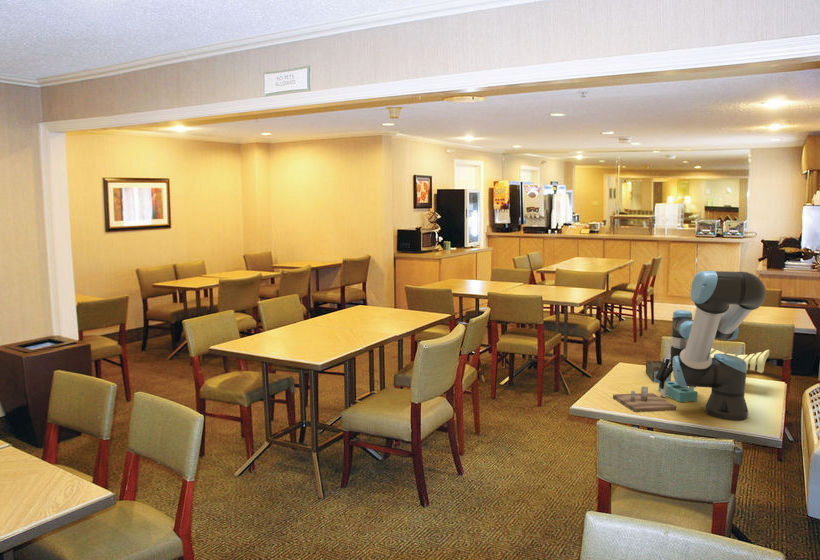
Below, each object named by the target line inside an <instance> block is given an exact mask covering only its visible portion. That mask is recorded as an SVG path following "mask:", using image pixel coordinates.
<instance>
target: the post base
mask: <svg viewBox="0 0 820 560" xmlns="http://www.w3.org/2000/svg"><path fill="white" fill-rule="evenodd" d="M648 391H649V387H647V386H641V390H640V393H636V391H635V390H631V392H630V393H619V394H618V393H617V394H612V398H613V400H615V401H617V402H619V403H620V404H622V405H623V406H624V405H625V407H626V408H627V409H629V410H631V411H632V410H633V411H632V412H634V413H641V412H640V411H647V412H661V411H662V412H664V411H665V410H667V411H677V407H678V406H677V405H675V404H673V403H671V402H670V401H667V400H666V399H664V397H663V398H662V397H661V396H659V395H657V394H655V393H654V392H648ZM665 412H666V411H665Z"/></svg>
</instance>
